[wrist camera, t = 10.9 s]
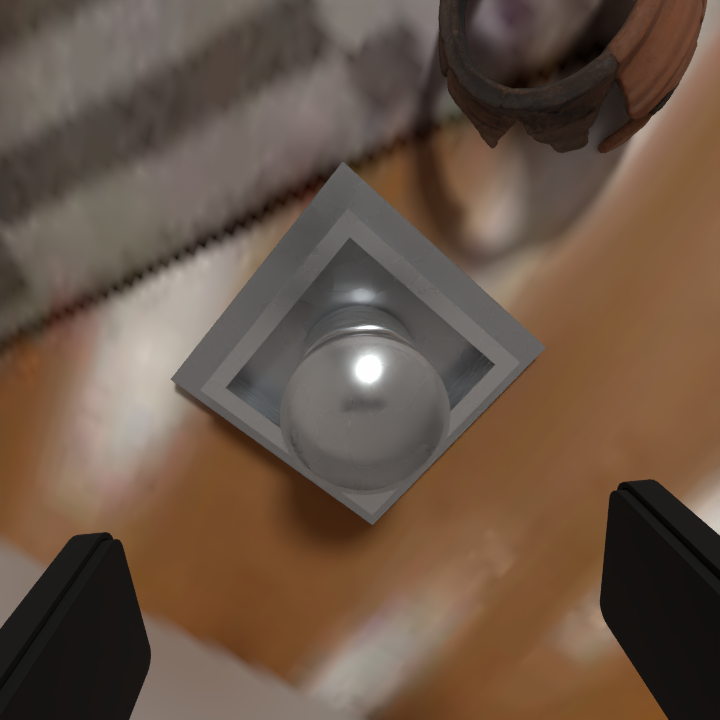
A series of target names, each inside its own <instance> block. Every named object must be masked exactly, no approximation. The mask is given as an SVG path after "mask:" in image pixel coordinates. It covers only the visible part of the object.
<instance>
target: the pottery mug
mask: <svg viewBox="0 0 720 720" xmlns="http://www.w3.org/2000/svg"><path fill="white" fill-rule="evenodd" d="M466 3H467V0H440V7H439V17H438V18H439V30H440V31H439V56H440V66H441V72H442V74H443V76H444V77H447V79H448V91H449V94H450V95H451V97H452V98H453V100H454V102H455V103H456V104H457V106H459V108H460V109H461V110H462V112H463V113H465V114H466V115H467V117H468V118H469V119H470V121H471V122H472V123H473V125H474V126H475V128H476V129H477V130H478V131H479V133H480V135H481V137H482V138H483V140H484V141H485V142H486V143H487V144H488V145H489V146H490V147H491V148H495V147H496V145H497V142H498V140H499V139H500V138H501V137H502V136H503V135H504V134H505V133H506V131H507V130H508V129H509V128H510V127H511V126H512V125H513V124H514V123H516V122H517V121H521V122H522V123H523V125H524V127H525V129H526V131H527V133H528V134H529V135H531V136H532V137H533V138H534V139H535V140H536V141H538V142H541V143H545V144H549V145H551V146H552V147H553V149H554V150H555V151H557V152H560V153H564V152H568V151H572V150H577V149H580V148H582V147H584V146H585V145H586V144H587V143H588V134H589V130H588V129H589V128H590V127H591V126H592V124H593V123H594V121H595V119H596V117H597V115H598V112H599V109H600V106H601V104H602V103H603V101H604V99H605V97H606V95H607V93H608V91H609V89H610V87H611V86H612V83H613V81H615V82H616V83H617V84H618V86H619V88H620V90H621V92H622V93H623V96H624V98H625V108H626V113H627V115H628V117H629V120H628V121H627V122H626V123H625V124H624V125H623V126H622V127H621V128H620V129H619V130H617V131H616V132H614V133H613V134H611V135H610V136H608V137H607V138H605V139H604V140H603V141H602V142H601V143H600V144H599V146H598V150H599V152H600V153H607V152H609V151H611V150H613V149H615V148H616V147H618V146H620V145H622V144H623V143H624V142H626V141H627V140H628V139H629V138H630V137H632V136H633V135H634V134H635V133H636V132H637V131H639V130H640V129H641V128H642V127H644V126H645V125H646V123H647V122H648V121H649V120H650V118H651V117H652V116H653V115H654V114H655V113H656V112H657V111H659V110H660V109H661V108H662V107H663V106H664V105H665V104H666V102H667V101H668V100H669V98H670V97H671V95H672V94H673V92H674V90H675V89H676V87H677V86H678V84H679V82H680V80H681V79H682V77H683V75H684V73H685V71H686V70H687V68H688V66H689V64H690V62H691V59H692V57H693V54H694V52H695V49H696V47H697V39H698V37H699V33H700V29H701V25H702V22H703V19H704V15H705V11H706V5H707V0H635V2H634V4H633V6H632V9H631V11H630V13H629V15H628V17H627V19H626V21H625V22H624V24H623V26H622V27H621V29H620V30H619V31H618V33H617V34H616V35H615V37H614V38H613V39H612V40H611V42H610V43H609V44H608V45H607V46H606V48H605V49H604V50H603V52H602V54H601V55H600V56H599V57H597V58H596V59H594V60H593V61H592V62H590V63H589V64H588V65H586V66H585V67H584V68H582V69H581V70H579V71H578V72H576V73H574V74H573V75H571V76H569V77H567V78H565V79H563V80H560V81H558V82H555V83H551V84H548V85H544V86H539V87H534V88H514V89H512V88H509V87H507V86H503V85H501V84H499V83H497V82H495V81H493V80H492V79H491V78H489V77H487V76H485V75H484V74H483V73H482V72H481V71H480V70H479V68H478V67H477V65H476V64H475V62H474V61H473V59H472V57H471V55H470V52H469V50H468V46H467V43H466V38H465V8H466Z"/></svg>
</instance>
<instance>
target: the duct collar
mask: <svg viewBox="0 0 720 720" xmlns="http://www.w3.org/2000/svg"><path fill="white" fill-rule="evenodd" d="M350 306H370V307H374V308H378V309H380V310H383V311H385V312H387V313H389V314H390V315H392V316H393V317H395V318H396V319H397V320H398V321H399V322H400V323H401V324H402V325H403V326H404V327H405V328H406V330H407V331H408V333H409V335H410V336H411V338H412V340H413V342H414V344H415V345H416V347H417V349H418V350H419V351H420V352H421V353H422V354H424V355H425V356H426V357H427V358H428V360H429V361H430V362H431V364H432V365H433V366H434V368H435V369H436V371H437V373H438V374H439V376H440V378H441V380H442V381H443V384H444V386H445V389H446V391H447V394H448V399H449V403H450V425H449V431H448V435H447V438H446V441H445V443H444V445H443V448H442V450H441V452H440V453H439V455H438V456H437V458H436V459H435V461H436V460H437V459H438V458H439V457H440V456H441V455H442V454H443V452H444V451H445V450H446V449H447V448H448V447H449V446H450V445H451V444H452V443H453V442H454V441H455V440H456V439H457V438H458V437H459V436H460V435H461V434H462V433H463V432H464V431H465V430H466V429H467V428H468V427H469V426H470V425H471V424H472V423H473V422H474V421H475V420H476V419H477V418H478V417H479V416H480V415H481V414H482V413H483V411H484V410H485V409H486V408H487V407H488V406H489V405H490V404H491V403H492V402H493V401H494V400H495V399H496V398H497V397H498V396H499V395H500V394H501V393H502V392H503V391H504V390H505V389H506V388H507V387H508V386H509V385H510V384H511V383H512V382H513V381H514V380H515V379H516V378H517V377H518V376H519V375H520V374H521V373H522V372H523V371H524V369H525V368H526V367H527V366H528V365H529V364H530V363H531V362H532V361H533V360H534V359H535V358H536V357H537V356H538V355H539V354H540V353H541V352H542V351H543V350H544V349H545V348H546V347H545V346H544V345H543V344H542V343H541V342H540V341H539V340H537V339H536V338H535V337H534V336H533V335H532V334H531V333H530V332H529V331H528V330H527V329H525V328H524V327H523V326H522V325H521V324H520V323H519V322H518V321H517V320H516V319H514V318H513V317H512V316H511V315H510V314H509V313H508V312H507V311H506V310H505V309H504V308H502V307H501V306H500V305H499V304H498V303H497V302H496V301H495V300H494V299H493V298H491V297H490V296H489V295H488V294H487V293H486V292H485V291H484V290H483V289H482V288H481V287H479V286H478V285H477V284H476V283H475V282H474V281H473V280H472V279H471V278H470V277H469V276H467V275H466V274H465V273H464V272H463V271H462V270H461V269H460V268H459V267H458V266H456V265H455V264H454V263H453V262H452V261H451V260H450V259H449V258H448V257H447V256H446V255H444V254H443V253H442V252H441V251H440V250H439V249H438V248H437V247H436V246H435V245H434V244H432V243H431V242H430V241H429V240H428V239H427V238H426V237H425V236H424V235H423V234H421V233H420V232H419V231H418V230H417V229H416V228H415V227H414V226H413V225H412V224H411V223H409V222H408V221H407V220H406V219H405V218H404V217H403V216H402V215H401V214H400V213H398V212H397V211H396V210H395V209H394V208H393V207H392V206H391V205H390V204H389V203H388V202H386V201H385V200H384V199H383V198H382V197H381V196H380V195H379V194H378V193H377V192H376V191H374V190H373V189H372V188H371V187H370V186H369V185H368V184H367V183H366V182H365V181H363V180H362V179H361V178H360V177H359V176H358V175H357V174H356V173H355V172H354V171H353V170H351V169H350V168H349V167H348V166H347V165H346V164H345V163H344V162H342V163H341V165H340V166H339V167H338V168H337V170H336V171H335V172H334V174H333V175H332V176H331V177H330V179H329V180H328V181H327V182H326V184H325V185H324V186H323V187H322V189H321V190H320V191H319V192H318V194H317V195H316V196H315V198H314V199H313V200H312V201H311V203H310V204H309V205H308V206H307V208H306V209H305V210H304V211H303V213H302V214H301V215H300V217H299V218H298V219H297V220H296V222H295V223H294V224H293V225H292V227H291V228H290V229H289V230H288V232H287V233H286V234H285V235H284V237H283V238H282V239H281V241H280V242H279V243H278V244H277V246H276V247H275V248H274V249H273V251H272V252H271V253H270V254H269V256H268V257H267V258H266V260H265V261H264V262H263V263H262V265H261V266H260V267H259V268H258V270H257V271H256V272H255V273H254V275H253V276H252V277H251V278H250V280H249V281H248V282H247V284H246V285H245V286H244V287H243V289H242V290H241V291H240V292H239V294H238V295H237V296H236V297H235V299H234V300H233V301H232V302H231V304H230V305H229V306H228V308H227V309H226V310H225V311H224V313H223V314H222V315H221V316H220V318H219V319H218V320H217V321H216V323H215V324H214V325H213V327H212V328H211V329H210V330H209V332H208V333H207V334H206V335H205V337H204V338H203V339H202V340H201V342H200V343H199V344H198V345H197V347H196V348H195V349H194V351H193V352H192V353H191V354H190V356H189V357H188V358H187V359H186V361H185V362H184V363H183V364H182V366H181V367H180V368H179V369H178V371H177V372H176V373H175V375H174V376H173V377H172V378H171V380H172V381H173V382H175V383H176V384H178V385H179V386H180V387H182V388H183V389H185V390H186V391H187V392H189V393H190V394H191V395H193V396H194V397H196V398H197V399H198V400H200V401H201V402H203V403H204V404H205V405H207V406H208V407H209V408H211V409H212V410H214V411H215V412H216V413H218V414H219V415H221V416H222V417H223V418H225V419H226V420H227V421H229V422H230V423H232V424H233V425H234V426H236V427H237V428H239V429H240V430H241V431H243V432H244V433H246V434H247V435H248V436H250V437H251V438H252V439H254V440H255V441H257V442H258V443H259V444H261V445H262V446H264V447H265V448H266V449H268V450H269V451H270V452H272V453H273V454H275V455H276V456H277V457H279V458H280V459H282V460H283V461H284V462H286V463H287V464H288V465H290V466H291V467H293V468H294V469H295V470H297V471H298V472H300V473H301V474H302V475H304V476H305V477H306V478H308V479H309V480H311V481H312V482H313V483H315V484H316V485H318V486H319V487H320V488H322V489H323V490H325V491H326V492H327V493H329V494H330V495H331V496H333V497H334V498H336V499H337V500H338V501H340V502H341V503H343V504H344V505H345V506H347V507H348V508H349V509H351V510H352V511H354V512H355V513H356V514H358V515H359V516H361V517H362V518H363V519H365V520H366V521H367V522H369V523H370V524H372V525H373V524H374V523H375V522H376V521H377V520H378V519H379V518H380V517H381V516H382V515H383V514H384V513H385V512H386V511H387V510H388V509H389V508H390V507H391V506H392V505H393V504H394V503H395V502H396V501H397V500H398V499H399V498H400V497H401V496H402V494H403V493H404V492H405V491H406V490H407V489H408V488H409V487H410V486H411V485H412V484H413V483H414V482H415V481H416V480H417V479H418V478H419V477H420V476H421V475H422V474H423V473H424V472H425V471H424V472H423V473H422V474H421V475H420V476H419V477H417V478H416V479H414V480H413V481H412V482H410V483H408V484H406V485H404V486H402V487H400V488H397V489H395V490H392V491H388V492H385V493H380V494H373V495H355V494H347V493H342V492H339V491H335V490H332V489H330V488H328V487H325V486H323V485H321V484H319V483H318V482H316V481H315V480H313V479H312V478H310V477H309V476H308V475H307V474H305V473H304V472H303V471H302V470H301V469H300V468H299V466H298V465H297V464H296V463H295V461H294V460H293V459H292V457H291V456H290V454H289V452H288V450H287V448H286V446H285V443H284V440H283V438H282V433H281V428H280V406H281V401H282V397H283V394H284V391H285V388H286V385H287V382H288V380H289V377H290V376H291V374H292V372H293V370H294V369H295V367H296V366H297V365H298V363H299V360H300V356H301V353H302V349H303V346H304V343H305V341H306V338H307V336H308V335H309V333H310V331H311V330H312V329H313V327H314V326H315V325H316V324H317V323H318V322H319V321H320V320H321V319H322V318H324V317H325V316H326V315H328V314H330V313H331V312H334V311H336V310H338V309H341V308H345V307H350ZM435 461H434V462H435ZM434 462H433V463H434ZM433 463H432V464H433ZM432 464H431V465H432ZM431 465H430V466H431Z"/></svg>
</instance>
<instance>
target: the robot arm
mask: <svg viewBox="0 0 720 720" xmlns="http://www.w3.org/2000/svg"><path fill="white" fill-rule="evenodd" d="M600 607H601V612H602V615H603V618H604V620H605V622H606V624H607V625H608V627H609V628H610V630H611V631H612V633H613V635H614V636H615V638H616V639H617V641H618V642H619V644H620V645H621V647H622V648H623V650H624V652H625V653H626V655H627V656H628V658H629V659H630V661H631V662H632V664H633V665H634V667H635V669H636V670H637V672H638V673H639V675H640V676H641V678H642V679H643V681H644V682H645V684H646V686H647V687H648V689H649V690H650V692H651V693H652V695H653V696H654V698H655V699H656V701H657V703H658V704H659V706H660V707H661V709H662V710H663V712H664V713H665V715H666V716H667V718H668V719H669V720H720V535H718V534H717V533H716V532H715V531H714V530H713V529H712V528H710V527H709V526H708V525H707V524H706V523H705V522H703V521H702V520H701V519H700V518H699V517H698V516H696V515H695V514H694V513H693V512H692V511H691V510H690V509H688V508H687V507H686V506H685V505H684V504H683V503H681V502H680V501H679V500H678V499H677V498H676V497H675V496H673V495H672V494H671V493H670V492H669V491H668V490H666V489H665V488H664V487H663V486H662V485H661V484H659V483H658V482H657V481H655V480H651V479H649V480H639V481H629V482H622V483H620V484H619V486H618V488H617V491H613V492H612V493H611V494H610V498H609V509H608V520H607V530H606V541H605V552H604V563H603V573H602V584H601V595H600ZM150 660H151V650H150V645H149V641H148V637H147V634H146V630H145V626H144V623H143V619H142V615H141V612H140V608H139V604H138V601H137V597H136V593H135V589H134V586H133V582H132V578H131V575H130V571H129V567H128V564H127V560H126V556H125V553H124V549H123V545H122V543H121V541H120V540H118V539H114V540H113V537H112V536H111V535H110V534H109V533H107V532H103V533H93V534H83V535H76V536H73V537H72V538H71V539H70V540H69V541H68V543H67V544H66V545H65V546H64V548H63V549H62V550H61V552H60V553H59V554H58V555H57V557H56V558H55V559H54V561H53V562H52V563H51V564H50V566H49V567H48V568H47V570H46V571H45V572H44V573H43V575H42V576H41V577H40V579H39V580H38V581H37V582H36V584H35V585H34V586H33V588H32V589H31V590H30V591H29V593H28V594H27V595H26V596H25V598H24V599H23V600H22V602H21V603H20V604H19V606H18V607H17V608H16V609H15V611H14V612H13V613H12V615H11V616H10V617H9V618H8V620H7V621H6V622H5V623H4V625H3V626H2V628H1V629H0V720H129V719H130V716H131V713H132V711H133V708H134V706H135V703H136V701H137V698H138V696H139V693H140V690H141V688H142V685H143V683H144V680H145V678H146V675H147V673H148V670H149V666H150Z"/></svg>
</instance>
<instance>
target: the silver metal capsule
mask: <svg viewBox="0 0 720 720" xmlns="http://www.w3.org/2000/svg"><path fill="white" fill-rule="evenodd" d="M449 425H450V403H449V399H448V394H447V391H446V389H445V386H444V384H443V381H442V380H441V378H440V376H439V374H438V373H437V371H436V369H435V368H434V366H433V365H432V364H431V362H430V361H429V360H428V358H427V357H426V356H425V355H424V354H422V353H421V352H420V351H419V350H418V349H417V347H416V345H415V344H414V342H413V340H412V338H411V336H410V335H409V333H408V331H407V330H406V328H405V327H404V326H403V325H402V324H401V323H400V322H399V321H398V320H397V319H396V318H395V317H393V316H392V315H390V314H389V313H387V312H385V311H383V310H380V309H378V308H374V307H370V306H350V307H345V308H341V309H338V310H336V311H334V312H331V313H330V314H328V315H326V316H325V317H324V318H322V319H321V320H320V321H319V322H318V323H317V324H316V325H315V326H314V327H313V329H312V330H311V331H310V333H309V335H308V336H307V338H306V341H305V343H304V346H303V349H302V353H301V356H300V360H299V363H298V365H297V366H296V367H295V369H294V370H293V372H292V374H291V376H290V377H289V380H288V382H287V385H286V388H285V391H284V394H283V397H282V401H281V406H280V428H281V433H282V438H283V440H284V443H285V446H286V448H287V450H288V452H289V454H290V456H291V457H292V459H293V460H294V461H295V463H296V464H297V465H298V466H299V468H300V469H301V470H302V471H303V472H304V473H305V474H307V475H308V476H309V477H310V478H312V479H313V480H315V481H316V482H318V483H319V484H321V485H323V486H325V487H328V488H330V489H332V490H335V491H339V492H342V493H347V494H355V495H373V494H380V493H385V492H388V491H392V490H395V489H397V488H400V487H402V486H404V485H406V484H408V483H410V482H412V481H413V480H414V479H416V478H417V477H419V476H420V475H421V474H422V473H423V472H424V471H426V470H427V469H428V468H429V467H430V465H431V464H432V463H433V462H434V461H435V459H436V458H437V456H438V455H439V453H440V452H441V450H442V448H443V445H444V443H445V441H446V438H447V435H448V431H449Z"/></svg>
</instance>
